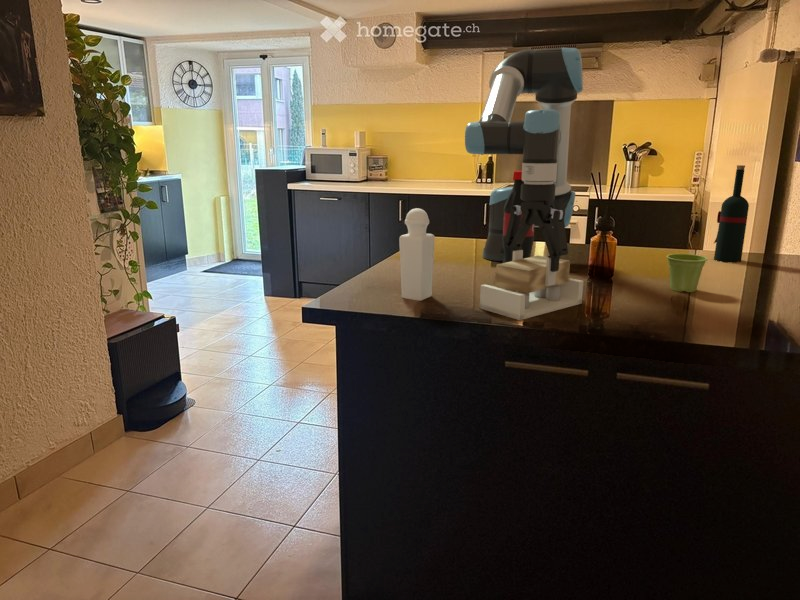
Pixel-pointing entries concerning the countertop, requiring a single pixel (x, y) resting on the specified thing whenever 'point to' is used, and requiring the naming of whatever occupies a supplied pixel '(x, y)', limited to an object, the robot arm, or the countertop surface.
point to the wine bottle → (732, 223)
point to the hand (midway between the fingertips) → (532, 281)
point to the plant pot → (685, 271)
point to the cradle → (530, 299)
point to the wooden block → (529, 274)
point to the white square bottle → (416, 257)
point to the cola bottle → (513, 201)
